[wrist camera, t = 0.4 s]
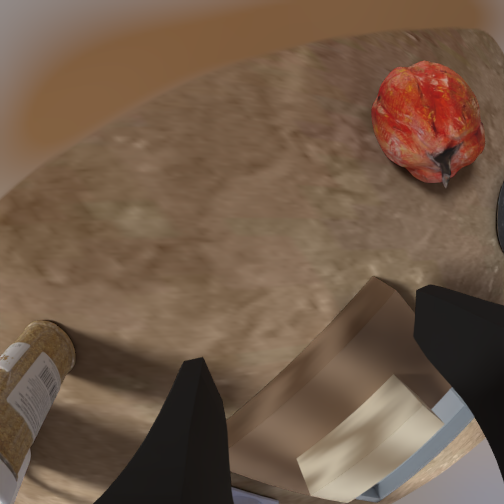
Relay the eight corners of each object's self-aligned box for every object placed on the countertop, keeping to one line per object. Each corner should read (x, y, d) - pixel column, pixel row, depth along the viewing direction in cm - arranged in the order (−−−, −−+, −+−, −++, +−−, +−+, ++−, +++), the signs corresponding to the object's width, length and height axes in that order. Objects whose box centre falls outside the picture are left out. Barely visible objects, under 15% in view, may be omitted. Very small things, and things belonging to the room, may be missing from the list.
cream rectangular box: (332, 471, 21) (347, 503, 18) (296, 458, 20) (310, 495, 16) (418, 396, 21) (444, 424, 17) (393, 374, 19) (422, 405, 16)
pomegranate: (350, 74, 19) (339, 153, 14) (423, 22, 13) (461, 79, 8) (410, 138, 22) (417, 233, 17) (479, 100, 16) (520, 193, 11)
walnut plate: (313, 478, 26) (321, 498, 23) (206, 436, 22) (209, 462, 19) (443, 360, 24) (461, 375, 21) (372, 275, 20) (396, 290, 18)
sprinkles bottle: (26, 309, 17) (-86, 427, 4) (80, 330, 18) (-8, 484, 5) (26, 359, 18) (-54, 481, 5) (76, 380, 19) (16, 525, 6)
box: (370, 489, 29) (377, 502, 26) (320, 476, 26) (327, 493, 23) (468, 401, 28) (479, 411, 25) (441, 367, 25) (456, 379, 22)
